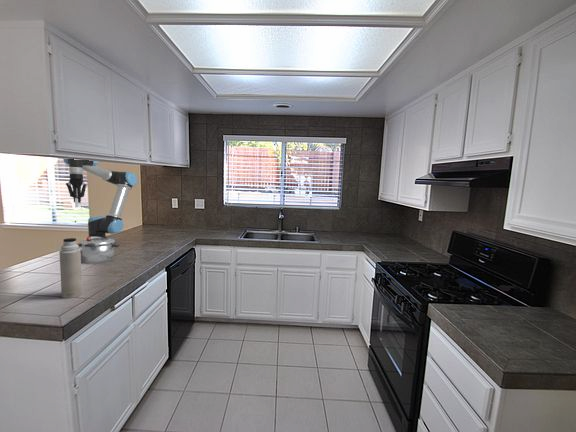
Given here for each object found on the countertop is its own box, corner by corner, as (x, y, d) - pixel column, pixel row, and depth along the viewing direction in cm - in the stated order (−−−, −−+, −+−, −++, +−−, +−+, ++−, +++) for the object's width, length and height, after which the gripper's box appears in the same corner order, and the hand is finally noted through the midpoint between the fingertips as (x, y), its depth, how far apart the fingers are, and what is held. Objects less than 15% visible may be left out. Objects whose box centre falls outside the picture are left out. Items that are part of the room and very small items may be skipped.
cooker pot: (85, 256, 204) (84, 240, 203) (123, 256, 209) (123, 240, 207) (71, 264, 187) (70, 245, 185) (113, 264, 191) (112, 246, 190)
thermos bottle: (58, 298, 136) (55, 240, 133) (66, 292, 144) (64, 237, 140) (77, 298, 138) (75, 240, 135) (85, 291, 146) (82, 237, 142)
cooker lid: (89, 239, 204) (89, 234, 203) (119, 240, 207) (119, 235, 207) (71, 247, 181) (71, 241, 181) (104, 247, 185) (104, 242, 184)
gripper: (62, 172, 197) (64, 207, 199) (83, 173, 199) (85, 208, 202) (68, 173, 204) (70, 206, 207) (89, 174, 206) (90, 206, 209)
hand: (77, 207), depth 204 cm, fingers closed
